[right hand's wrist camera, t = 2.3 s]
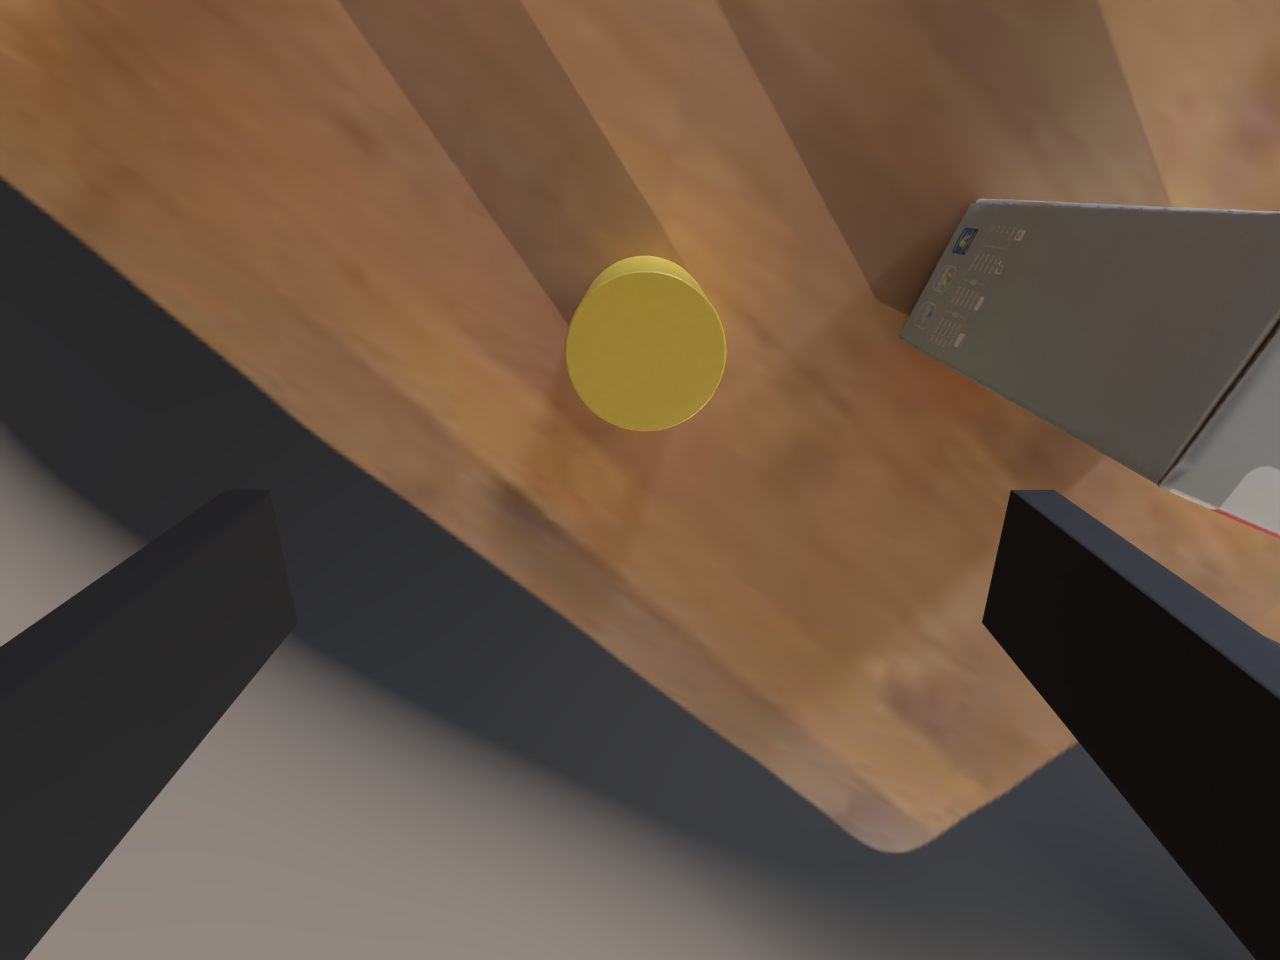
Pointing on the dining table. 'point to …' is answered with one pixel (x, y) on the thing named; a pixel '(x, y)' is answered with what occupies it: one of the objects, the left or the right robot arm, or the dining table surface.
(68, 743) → the right robot arm
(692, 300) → the tin
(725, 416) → the dining table surface
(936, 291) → the hard drive box
